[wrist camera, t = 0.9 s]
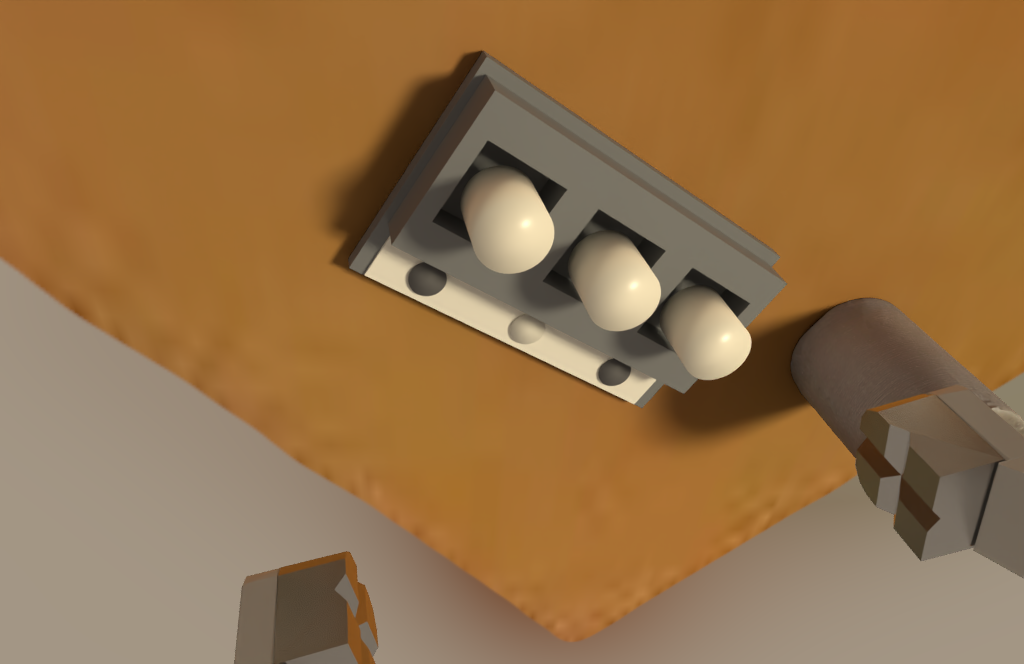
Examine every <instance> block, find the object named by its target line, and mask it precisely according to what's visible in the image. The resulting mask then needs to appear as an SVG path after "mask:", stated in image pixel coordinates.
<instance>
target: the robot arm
mask: <svg viewBox="0 0 1024 664" xmlns="http://www.w3.org/2000/svg"><path fill="white" fill-rule="evenodd" d="M860 430H861V431H862V432H863V433H864V434H865V436H866V437H867V438H866V439H865V440H864V441H863V443H862V444H861V445H860V446H859V448H858V449H857V452H856V464H855V466H856V470H857V474H858V477H859V481H860V484H861V485H862V487H863V489H864V491H865V493H866V495H867V496H868V497H869V498H870V500H871V501H872V502H873V504H874V505H875V506H876V507H878V508H880V509H882V510H884V511H887V512H889V513H891V514H893V515H894V529H895V531H896V532H897V533H898V534H899V535H900V537H901V538H902V539H903V540H904V542H905V543H906V544H907V545H908V546H909V547H910V549H911V550H912V551H913V552H914V553H915V555H916V556H917V557H918V558H919V559H920V561H924V560H927V559H931V558H935V557H939V556H943V555H947V554H951V553H954V552H958V551H962V550H966V549H970V548H974V551H975V552H977V553H979V554H981V555H983V556H985V557H986V558H988V559H990V560H992V561H993V562H995V563H997V564H999V565H1001V566H1002V567H1004V568H1006V569H1008V570H1010V571H1011V572H1013V573H1015V574H1017V575H1019V576H1020V577H1022V578H1024V437H1023V436H1022V435H1021V434H1020V433H1019V432H1018V431H1016V430H1015V429H1014V428H1013V427H1012V426H1011V425H1009V424H1008V423H1007V422H1006V421H1005V420H1004V419H1002V418H1001V417H1000V416H999V415H998V414H997V413H995V412H994V411H993V410H992V409H991V408H990V407H989V406H987V405H986V404H985V403H984V402H983V401H982V400H980V399H979V398H978V397H977V396H976V395H975V394H973V393H972V392H971V391H970V390H969V389H967V388H966V387H963V386H960V385H954V386H950V387H947V388H943V389H940V390H936V391H932V392H929V393H926V394H920V395H917V396H913V397H910V398H906V399H903V400H899V401H896V402H892V403H889V404H885V405H882V406H878V407H875V408H871V409H868V410H866V411H865V413H864V414H863V415H862V417H861V423H860ZM357 581H358V580H357V566H356V564H355V562H354V560H353V557H352V555H351V553H350V552H347V551H346V552H342V553H338V554H334V555H330V556H326V557H322V558H318V559H314V560H310V561H306V562H301V563H298V564H293V565H289V566H285V567H281V568H279V569H275V570H271V571H267V572H263V573H259V574H255V575H251V576H247V577H246V579H245V581H244V584H243V586H242V591H241V601H240V611H239V620H238V631H237V640H236V650H235V660H234V664H375V661H374V659H373V656H374V654H375V652H376V650H377V649H378V640H377V629H376V624H375V618H374V612H373V608H372V605H371V601H370V598H369V595H368V592H367V590H366V587H365V585H363V584H361V583H359V582H357Z"/></svg>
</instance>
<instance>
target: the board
mask: <svg viewBox="0 0 1024 664" xmlns="http://www.w3.org/2000/svg"><path fill="white" fill-rule="evenodd" d="M500 165H503V166H510V167H514V168H516V169H518V170H520V171H522V172H523V173H525V174H526V175H527V176H528V177H529V179H530V180H531V182H532V183H533V185H534V187H535V189H536V191H537V193H538V195H539V196H540V198H541V200H542V202H543V204H544V206H545V208H546V210H547V211H548V213H549V215H550V217H551V219H552V222H553V225H554V240H553V244H552V246H551V249H550V251H549V252H548V254H547V255H546V256H545V258H544V259H543V260H542V261H541V262H540V263H538V264H537V265H536V266H534V267H532V268H531V269H529V270H526V271H523V272H520V273H514V274H504V273H499V272H495V271H493V270H491V269H489V268H487V267H486V266H485V265H483V264H482V263H481V262H480V261H479V259H478V258H477V256H476V254H475V252H474V249H473V246H472V243H471V240H470V237H469V234H468V231H467V228H466V224H465V221H464V218H463V215H462V212H461V207H460V201H461V195H462V192H463V190H464V187H465V186H466V184H467V183H468V181H469V180H470V179H471V178H472V177H473V176H474V175H475V174H477V173H478V172H480V171H481V170H484V169H486V168H489V167H492V166H500ZM603 230H613V231H618V232H621V233H623V234H624V235H626V236H627V237H628V238H629V239H630V240H631V241H632V242H633V244H634V245H635V247H636V248H637V250H638V251H639V253H640V254H641V256H642V257H643V258H644V260H645V261H646V263H647V264H648V266H649V267H650V269H651V270H652V272H653V273H654V275H655V276H656V278H657V279H658V281H659V283H660V287H661V297H660V301H659V304H658V306H657V308H656V310H655V311H654V312H653V314H652V315H651V316H650V317H649V318H648V319H647V320H646V321H644V322H643V323H642V324H640V325H638V326H636V327H634V328H632V329H628V330H624V331H609V330H605V329H603V328H601V327H599V326H597V325H596V324H595V323H594V322H593V321H592V319H591V318H590V316H589V314H588V312H587V310H586V308H585V306H584V304H583V302H582V300H581V298H580V296H579V294H578V292H577V290H576V288H575V286H574V284H573V282H572V280H571V278H570V276H569V273H568V261H569V257H570V254H571V252H572V251H573V249H574V248H575V246H576V245H577V244H578V243H579V242H580V241H581V240H582V239H584V238H585V237H587V236H588V235H590V234H592V233H595V232H598V231H603ZM779 258H780V256H779V255H778V254H777V253H776V252H775V251H774V250H773V249H771V248H770V247H769V246H767V245H766V244H764V243H763V242H761V241H760V240H758V239H757V238H755V237H754V236H753V235H751V234H750V233H748V232H747V231H745V230H744V229H742V228H741V227H739V226H738V225H737V224H735V223H734V222H732V221H731V220H729V219H728V218H726V217H725V216H723V215H722V214H720V213H719V212H718V211H716V210H715V209H713V208H712V207H710V206H709V205H707V204H706V203H704V202H703V201H702V200H700V199H699V198H697V197H696V196H694V195H693V194H691V193H690V192H688V191H687V190H686V189H684V188H683V187H681V186H680V185H678V184H677V183H675V182H674V181H672V180H671V179H670V178H668V177H667V176H665V175H664V174H662V173H661V172H659V171H658V170H656V169H655V168H653V167H652V166H651V165H649V164H648V163H646V162H645V161H643V160H642V159H640V158H639V157H637V156H636V155H635V154H633V153H632V152H630V151H629V150H627V149H626V148H624V147H623V146H621V145H620V144H619V143H617V142H616V141H614V140H613V139H611V138H610V137H608V136H607V135H605V134H604V133H603V132H601V131H600V130H598V129H597V128H595V127H594V126H592V125H591V124H589V123H588V122H586V121H585V120H584V119H582V118H581V117H579V116H578V115H576V114H575V113H573V112H572V111H570V110H569V109H568V108H566V107H565V106H563V105H562V104H560V103H559V102H557V101H556V100H554V99H553V98H552V97H550V96H549V95H547V94H546V93H544V92H543V91H541V90H540V89H538V88H537V87H536V86H534V85H533V84H531V83H530V82H528V81H527V80H525V79H524V78H522V77H521V76H519V75H518V74H517V73H515V72H514V71H512V70H511V69H509V68H508V67H506V66H505V65H503V64H502V63H501V62H499V61H498V60H496V59H495V58H493V57H492V56H490V55H489V54H487V53H486V52H485V51H483V52H482V53H481V55H480V56H479V58H478V59H477V61H476V63H475V64H474V66H473V67H472V69H471V70H470V72H469V73H468V75H467V76H466V78H465V79H464V81H463V83H462V84H461V86H460V87H459V89H458V90H457V92H456V93H455V95H454V96H453V98H452V100H451V101H450V103H449V104H448V106H447V107H446V109H445V110H444V112H443V113H442V115H441V117H440V118H439V120H438V121H437V123H436V124H435V126H434V127H433V129H432V130H431V132H430V133H429V135H428V137H427V138H426V140H425V141H424V143H423V144H422V146H421V147H420V149H419V150H418V152H417V154H416V155H415V157H414V158H413V160H412V161H411V163H410V164H409V166H408V167H407V169H406V171H405V172H404V174H403V175H402V177H401V178H400V180H399V181H398V183H397V184H396V186H395V187H394V189H393V191H392V192H391V194H390V195H389V197H388V198H387V200H386V201H385V203H384V204H383V206H382V208H381V209H380V211H379V212H378V214H377V215H376V217H375V218H374V220H373V221H372V223H371V225H370V226H369V228H368V229H367V231H366V232H365V234H364V235H363V237H362V238H361V240H360V241H359V243H358V245H357V246H356V248H355V249H354V251H353V252H352V254H351V255H350V257H349V268H350V269H352V270H354V271H356V272H358V273H361V274H363V275H365V276H367V277H369V278H371V279H373V280H375V281H377V282H379V283H382V284H384V285H386V286H388V287H390V288H392V289H394V290H396V291H398V292H400V293H402V294H405V295H407V296H409V297H411V298H413V299H415V300H417V301H419V302H421V303H423V304H425V305H428V306H430V307H432V308H434V309H436V310H438V311H440V312H442V313H444V314H446V315H448V316H451V317H453V318H455V319H457V320H459V321H461V322H463V323H465V324H467V325H469V326H471V327H474V328H476V329H478V330H480V331H482V332H484V333H486V334H488V335H490V336H492V337H494V338H497V339H499V340H501V341H503V342H505V343H507V344H509V345H511V346H513V347H515V348H517V349H520V350H522V351H524V352H526V353H528V354H530V355H532V356H534V357H536V358H538V359H540V360H543V361H545V362H547V363H549V364H551V365H553V366H555V367H557V368H559V369H561V370H563V371H566V372H568V373H570V374H572V375H574V376H576V377H578V378H580V379H582V380H584V381H586V382H589V383H591V384H593V385H595V386H597V387H599V388H601V389H603V390H605V391H607V392H609V393H612V394H614V395H616V396H618V397H620V398H622V399H624V400H626V401H628V402H630V403H632V404H635V405H637V406H639V407H641V408H643V407H644V405H645V404H646V403H647V402H648V401H649V400H650V399H651V398H652V397H653V396H654V395H655V393H656V392H657V391H658V390H659V389H660V388H661V387H662V386H663V385H664V384H666V385H668V386H669V387H671V388H673V389H675V390H677V391H679V392H681V393H683V394H684V393H685V392H686V391H687V390H688V389H689V388H690V387H691V386H692V385H693V384H694V383H695V382H696V381H697V380H698V378H695V377H694V376H692V375H691V374H690V373H689V372H688V371H687V369H686V368H685V366H684V365H683V363H682V361H681V360H680V358H679V357H678V355H677V353H676V352H675V350H674V349H673V347H672V346H671V344H670V342H669V341H668V339H667V338H666V336H665V334H664V333H663V331H662V329H661V327H660V322H659V319H660V313H661V310H662V308H663V306H664V305H665V303H666V302H667V301H668V299H669V298H670V297H671V296H673V295H674V294H675V293H677V292H678V291H680V290H682V289H684V288H687V287H690V286H696V285H703V286H707V287H710V288H712V289H714V290H715V291H716V292H717V293H718V294H719V295H720V296H721V298H722V299H723V300H724V302H725V303H726V304H727V305H728V307H729V308H730V309H731V310H732V312H733V313H734V314H735V316H736V317H737V318H738V319H739V321H740V322H741V323H742V325H743V326H744V327H745V328H746V327H747V326H748V325H749V324H750V323H751V322H752V321H753V320H754V319H755V318H756V317H757V315H758V314H759V313H760V312H761V311H762V310H763V309H764V308H765V307H766V306H767V305H768V304H769V303H770V302H771V301H772V299H773V298H774V297H775V296H776V295H777V294H778V293H779V292H780V291H781V290H782V289H783V288H784V287H785V286H786V285H787V283H786V282H785V281H784V280H783V279H782V278H781V277H780V276H779V275H778V274H777V272H776V271H775V270H774V269H773V268H772V266H773V265H774V264H775V263H776V262H777V260H778V259H779Z"/></svg>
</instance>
